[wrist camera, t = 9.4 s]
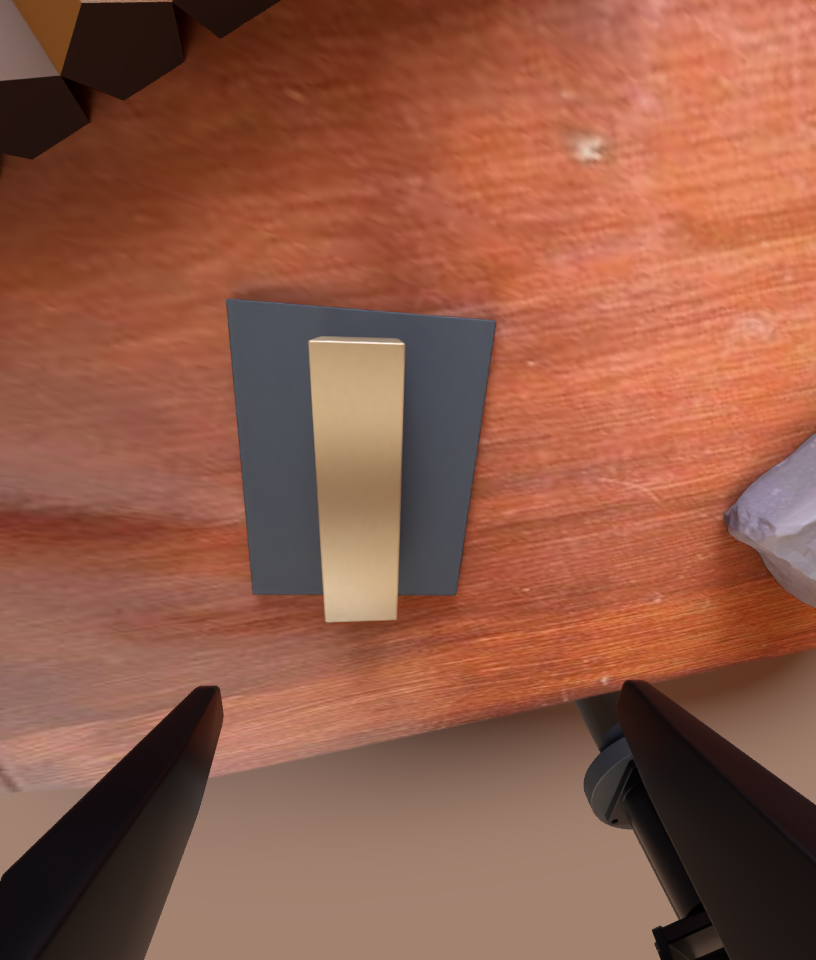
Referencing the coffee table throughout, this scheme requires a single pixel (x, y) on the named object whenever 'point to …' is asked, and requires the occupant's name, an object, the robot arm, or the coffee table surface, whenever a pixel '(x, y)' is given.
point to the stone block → (783, 521)
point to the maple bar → (358, 472)
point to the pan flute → (90, 57)
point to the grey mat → (290, 437)
